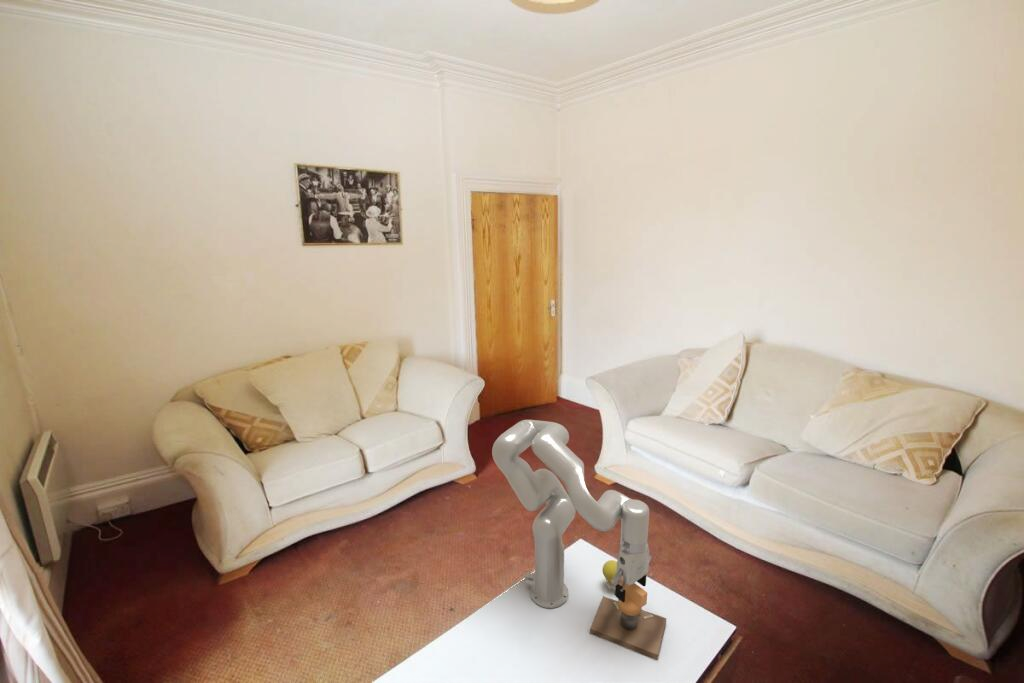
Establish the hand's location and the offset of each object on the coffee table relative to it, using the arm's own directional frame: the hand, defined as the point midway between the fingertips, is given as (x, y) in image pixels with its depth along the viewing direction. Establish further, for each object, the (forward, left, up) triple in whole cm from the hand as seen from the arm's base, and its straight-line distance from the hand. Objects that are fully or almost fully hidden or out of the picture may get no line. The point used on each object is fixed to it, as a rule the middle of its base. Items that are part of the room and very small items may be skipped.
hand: (630, 591), depth 140 cm
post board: (0, 0, -14) cm, 14 cm away
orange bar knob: (0, 0, -5) cm, 6 cm away
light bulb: (-9, +14, -14) cm, 22 cm away
